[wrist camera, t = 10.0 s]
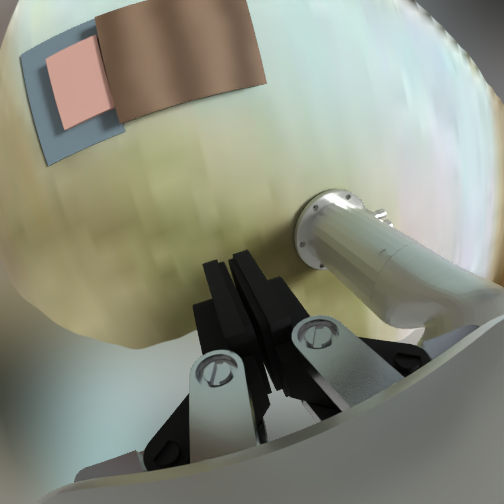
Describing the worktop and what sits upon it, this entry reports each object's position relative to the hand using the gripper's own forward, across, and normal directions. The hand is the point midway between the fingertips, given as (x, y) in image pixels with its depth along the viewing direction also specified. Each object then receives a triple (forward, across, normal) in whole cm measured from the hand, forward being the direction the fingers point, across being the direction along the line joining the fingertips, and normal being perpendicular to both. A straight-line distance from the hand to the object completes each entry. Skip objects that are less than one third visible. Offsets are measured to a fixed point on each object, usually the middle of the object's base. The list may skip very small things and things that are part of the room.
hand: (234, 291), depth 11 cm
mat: (+24, +11, -14) cm, 30 cm away
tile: (+23, +9, -14) cm, 29 cm away
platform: (+25, -2, -15) cm, 29 cm away
